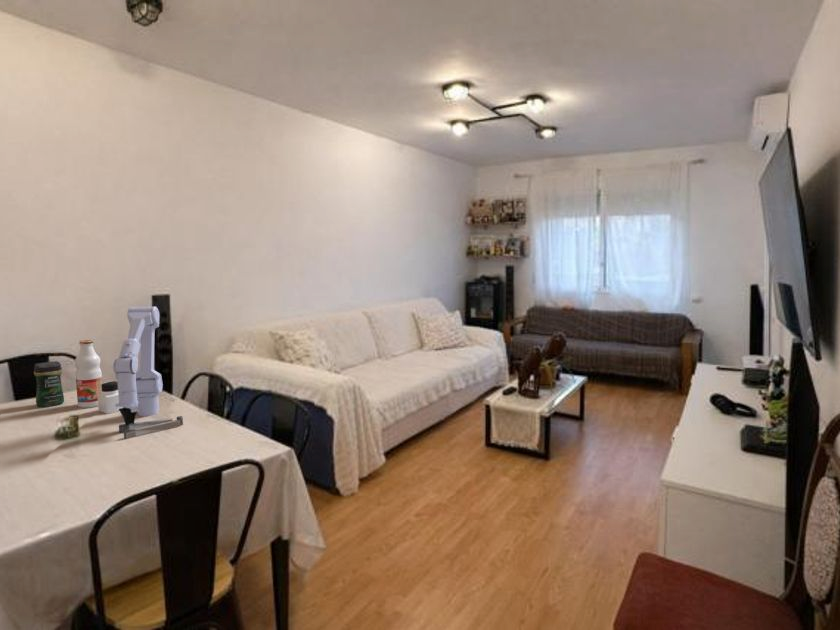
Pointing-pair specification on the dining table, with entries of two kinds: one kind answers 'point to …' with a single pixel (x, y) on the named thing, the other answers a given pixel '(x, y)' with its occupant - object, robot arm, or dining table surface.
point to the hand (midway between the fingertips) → (129, 427)
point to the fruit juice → (88, 375)
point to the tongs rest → (154, 428)
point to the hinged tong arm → (141, 424)
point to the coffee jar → (48, 384)
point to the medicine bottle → (109, 397)
